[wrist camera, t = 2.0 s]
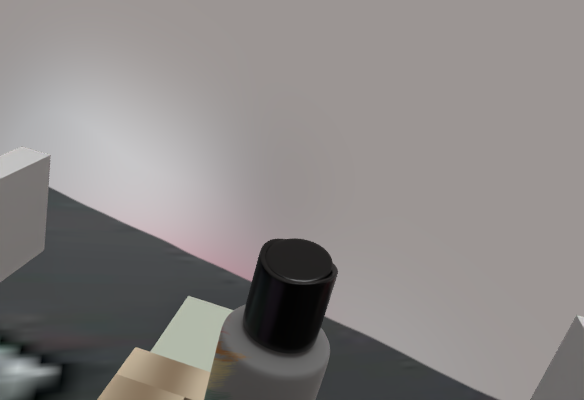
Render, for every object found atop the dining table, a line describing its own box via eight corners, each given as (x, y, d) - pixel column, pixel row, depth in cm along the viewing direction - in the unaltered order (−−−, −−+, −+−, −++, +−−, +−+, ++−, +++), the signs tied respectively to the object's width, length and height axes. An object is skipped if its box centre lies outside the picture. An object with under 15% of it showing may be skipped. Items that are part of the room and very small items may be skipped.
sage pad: (137, 374, 43) (138, 369, 42) (187, 300, 53) (188, 295, 53) (307, 432, 42) (308, 426, 41) (324, 345, 52) (326, 340, 52)
